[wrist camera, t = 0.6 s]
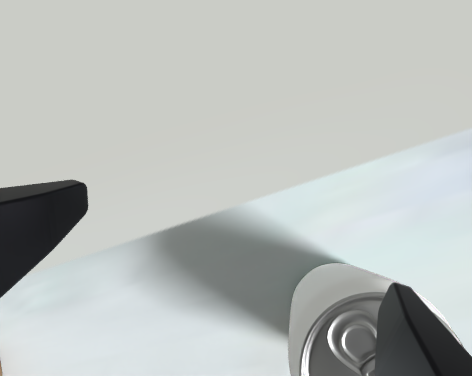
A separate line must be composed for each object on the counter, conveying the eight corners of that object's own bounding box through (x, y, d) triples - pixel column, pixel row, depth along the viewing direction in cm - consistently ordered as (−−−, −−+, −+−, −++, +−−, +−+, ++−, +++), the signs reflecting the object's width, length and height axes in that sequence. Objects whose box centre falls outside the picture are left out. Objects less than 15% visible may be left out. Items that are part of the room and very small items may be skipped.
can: (346, 244, 23) (398, 242, 12) (409, 325, 22) (541, 418, 10) (272, 296, 24) (250, 345, 12) (329, 379, 22) (367, 532, 10)
